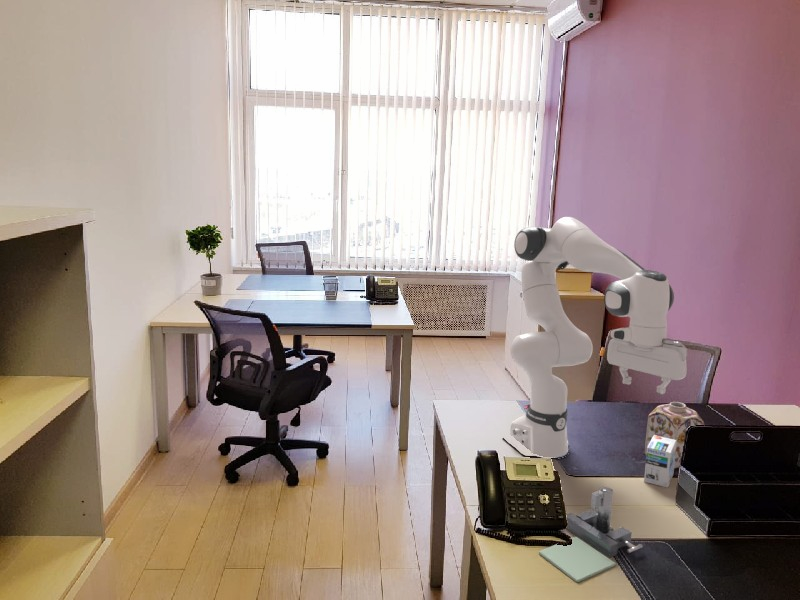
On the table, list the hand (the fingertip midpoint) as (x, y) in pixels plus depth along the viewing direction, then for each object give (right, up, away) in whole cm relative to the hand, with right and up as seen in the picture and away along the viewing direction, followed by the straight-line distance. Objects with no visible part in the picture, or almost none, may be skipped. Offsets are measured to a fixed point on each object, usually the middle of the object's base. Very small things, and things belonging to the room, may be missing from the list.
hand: (643, 388), depth 158 cm
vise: (-13, -35, -8) cm, 38 cm away
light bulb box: (+14, -30, +23) cm, 40 cm away
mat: (-22, -37, -16) cm, 46 cm away
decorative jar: (+23, -27, +35) cm, 49 cm away
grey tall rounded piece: (-12, -35, -6) cm, 38 cm away
